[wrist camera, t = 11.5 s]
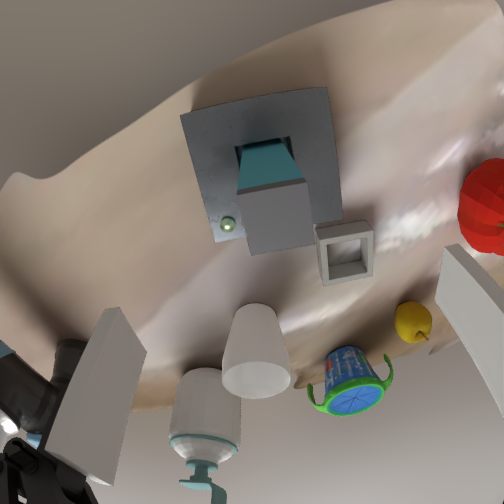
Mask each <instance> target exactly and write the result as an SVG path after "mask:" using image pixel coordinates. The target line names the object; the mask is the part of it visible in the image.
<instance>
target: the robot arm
mask: <svg viewBox="0 0 504 504" xmlns="http://www.w3.org/2000/svg"><path fill="white" fill-rule="evenodd" d="M435 301H436V303H437V304H438V306H439V307H440V309H441V310H442V312H443V313H444V315H445V316H446V318H447V319H448V321H449V322H450V324H451V325H452V327H453V328H454V330H455V331H456V333H457V335H458V336H459V338H460V339H461V341H462V343H463V344H464V346H465V347H466V349H467V351H468V353H469V354H470V356H471V358H472V359H473V361H474V363H475V364H476V366H477V368H478V370H479V371H480V373H481V375H482V377H483V379H484V381H485V382H486V384H487V386H488V388H489V390H490V392H491V394H492V396H493V398H494V400H495V402H496V403H497V406H498V408H499V410H500V412H501V414H502V416H503V418H504V290H503V289H502V288H501V287H500V286H499V285H498V284H497V283H496V281H495V280H494V279H493V278H492V277H491V276H490V275H489V274H488V273H487V272H486V271H485V270H484V269H483V268H482V267H481V266H480V265H479V263H478V262H477V261H476V260H475V259H474V258H473V257H472V256H471V255H470V254H469V253H467V252H466V251H465V250H464V249H463V248H462V247H461V246H460V245H459V244H454V245H450V246H446V247H444V251H443V258H442V264H441V270H440V276H439V281H438V286H437V291H436V296H435ZM146 353H147V351H146V350H145V348H144V347H143V345H142V344H141V342H140V340H139V339H138V337H137V336H136V334H135V332H134V331H133V329H132V327H131V326H130V324H129V322H128V321H127V319H126V317H125V316H124V314H123V312H122V310H121V309H120V307H116V308H108V309H105V310H104V312H103V314H102V316H101V318H100V320H99V322H98V324H97V325H96V327H95V329H94V331H93V334H92V336H91V338H90V340H89V342H88V344H87V343H85V342H82V341H78V340H64V341H62V342H61V343H60V344H59V346H58V348H57V350H56V353H55V362H54V369H53V376H52V378H51V381H50V382H49V381H47V380H46V379H45V378H44V377H43V376H41V375H40V374H39V373H38V372H37V371H35V370H34V369H33V368H32V367H31V366H30V365H29V364H27V363H26V362H25V361H24V360H23V359H22V358H21V357H20V356H19V355H18V354H16V352H15V351H14V350H12V349H11V348H10V347H8V346H7V345H6V344H5V343H4V342H3V341H2V340H0V504H24V503H22V502H20V501H19V500H18V495H20V496H22V497H24V498H26V499H27V503H26V504H98V502H97V500H96V498H95V496H94V494H93V492H92V490H91V487H90V486H89V484H88V483H87V482H86V477H88V478H89V479H91V480H93V481H95V482H97V483H101V484H105V485H109V486H113V484H114V479H115V474H116V470H117V464H118V460H119V456H120V451H121V447H122V443H123V438H124V434H125V430H126V426H127V422H128V418H129V414H130V410H131V406H132V403H133V399H134V395H135V392H136V388H137V384H138V381H139V377H140V374H141V370H142V367H143V363H144V360H145V357H146ZM20 427H21V428H23V429H24V430H25V431H27V434H26V436H27V437H26V438H27V440H28V442H29V443H31V444H33V445H34V446H36V447H37V450H36V449H34V448H33V447H32V446H30V445H29V444H27V443H26V442H25V441H24V440H22V439H21V438H18V437H15V438H12V439H11V440H9V441H8V442H7V444H6V445H5V442H6V439H7V436H9V435H12V434H17V433H18V431H19V429H20ZM4 445H5V447H4ZM3 447H4V450H3ZM2 450H3V454H2ZM503 504H504V501H503Z"/></svg>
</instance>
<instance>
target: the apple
mask: <svg viewBox="0 0 504 504" xmlns="http://www.w3.org/2000/svg"><path fill="white" fill-rule="evenodd" d="M394 324H395V329H396V331H397V333H398V335H399V336H400V337H401V338H402V339H403V340H404V341H406V342H409V343H416V342H420V341H422V340H424V339H426V340H428V338H427V337H428V336H429V334H430V331H431V327H432V316H431V314H430V312H429V311H428V310H427V308H426V307H424V306H423V305H421V304H419V303H417V302H413V301H408V302H405V303H403V304H400V305H399V306H398V307H397V309H396V312H395V318H394Z"/></svg>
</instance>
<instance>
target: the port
mask: <svg viewBox="0 0 504 504" xmlns="http://www.w3.org/2000/svg"><path fill="white" fill-rule="evenodd" d="M180 119H181V122H182V126H183V130H184V134H185V137H186V141H187V145H188V148H189V152H190V156H191V159H192V163H193V166H194V170H195V174H196V177H197V181H198V184H199V188H200V191H201V195H202V198H203V202H204V205H205V208H206V212H207V215H208V219H209V222H210V225H211V229H212V232H213V235H214V239H215V242H221V241H226V240H231V239H237V238H242V237H246V233H245V229H244V225H243V221H242V217H241V213H240V208H239V204H238V200H237V196H236V194H237V187H238V179H239V172H240V164H241V157H242V150H243V145H244V144H249V143H254V142H259V141H264V140H269V139H275V138H280V139H281V141H282V142H283V144H284V146H285V147H286V149H287V150H288V152H289V154H290V155H291V157H292V158H293V160H294V162H295V163H296V165H297V167H298V168H299V170H300V171H301V173H302V175H303V176H304V178H305V180H306V182H307V186H308V193H309V200H310V207H311V215H312V222H313V224H318V223H324V222H330V221H335V220H341V219H343V210H342V198H341V187H340V177H339V168H338V160H337V151H336V144H335V136H334V129H333V123H332V116H331V110H330V104H329V98H328V92H327V87H317V88H307V89H300V90H292V91H285V92H279V93H273V94H267V95H261V96H256V97H251V98H246V99H241V100H236V101H232V102H227V103H223V104H219V105H214V106H210V107H206V108H203V109H199V110H195V111H191V112H188V113H185V114H182V115H180Z"/></svg>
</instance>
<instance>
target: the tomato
mask: <svg viewBox="0 0 504 504" xmlns="http://www.w3.org/2000/svg"><path fill="white" fill-rule="evenodd" d="M457 217H458V221H459V225H460V229H461V233H462V235H463V236H464V238H465V239H466V240H467V242H468V243H469V244H470V246H471V247H472V248H474V249H475V250H477V251H479V252H483V253H493V252H494V253H495V254H497V255H501V256H504V159H499V158H494V159H489V160H487V161H484V162H483V163H482V164H481V166H480V167H478V168H476V169H474V170H472V171H471V172H470V174H469V175H468V176H467V177H466V179H465V181H464V184H463V186H462V188H461V190H460V200H459V207H458V213H457Z"/></svg>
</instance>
